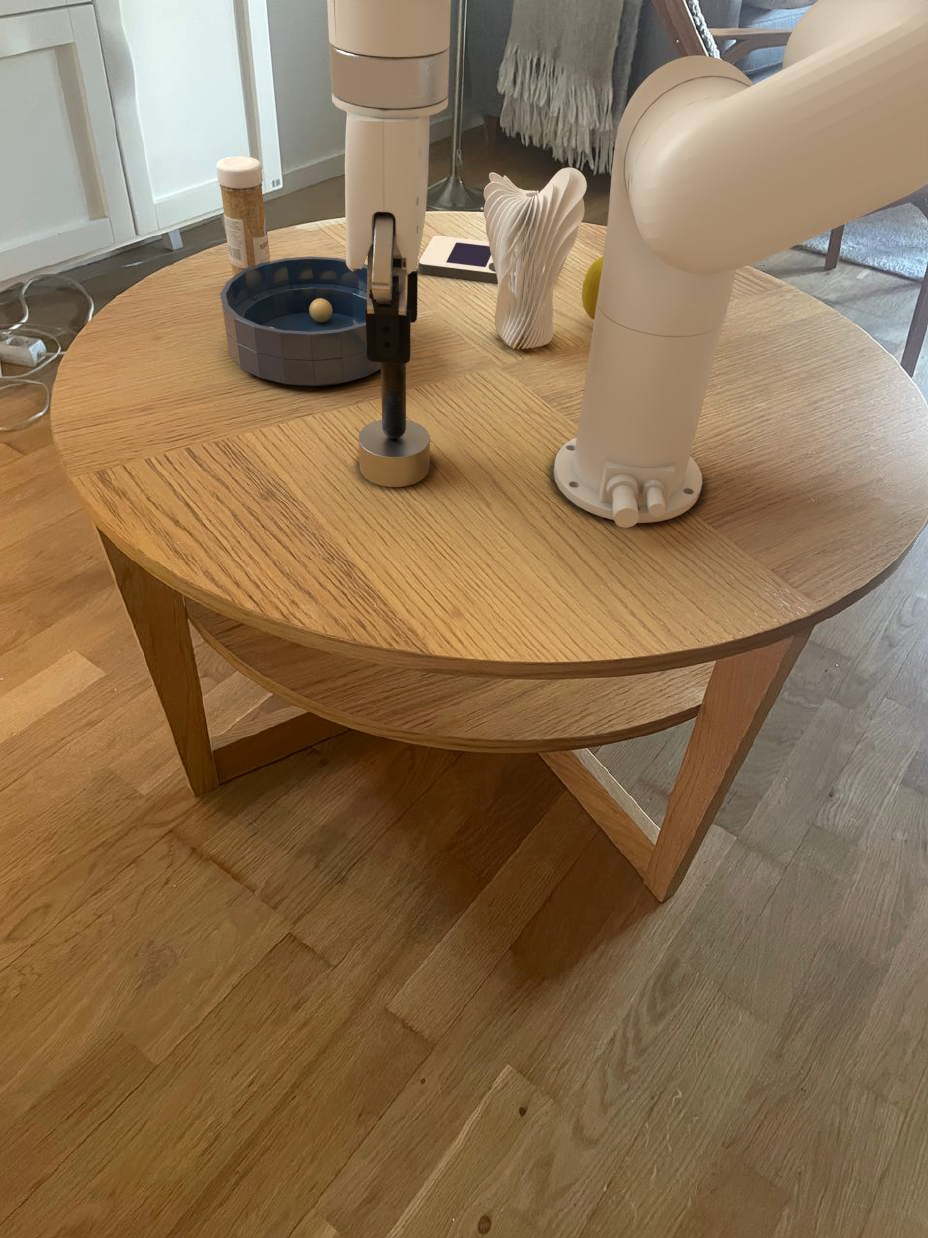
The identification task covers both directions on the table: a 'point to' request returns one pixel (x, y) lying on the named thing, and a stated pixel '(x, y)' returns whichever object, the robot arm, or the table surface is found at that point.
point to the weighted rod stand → (394, 435)
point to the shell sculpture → (531, 250)
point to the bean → (320, 310)
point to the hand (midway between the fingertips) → (393, 337)
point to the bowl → (298, 321)
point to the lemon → (592, 287)
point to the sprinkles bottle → (243, 211)
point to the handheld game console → (459, 259)
